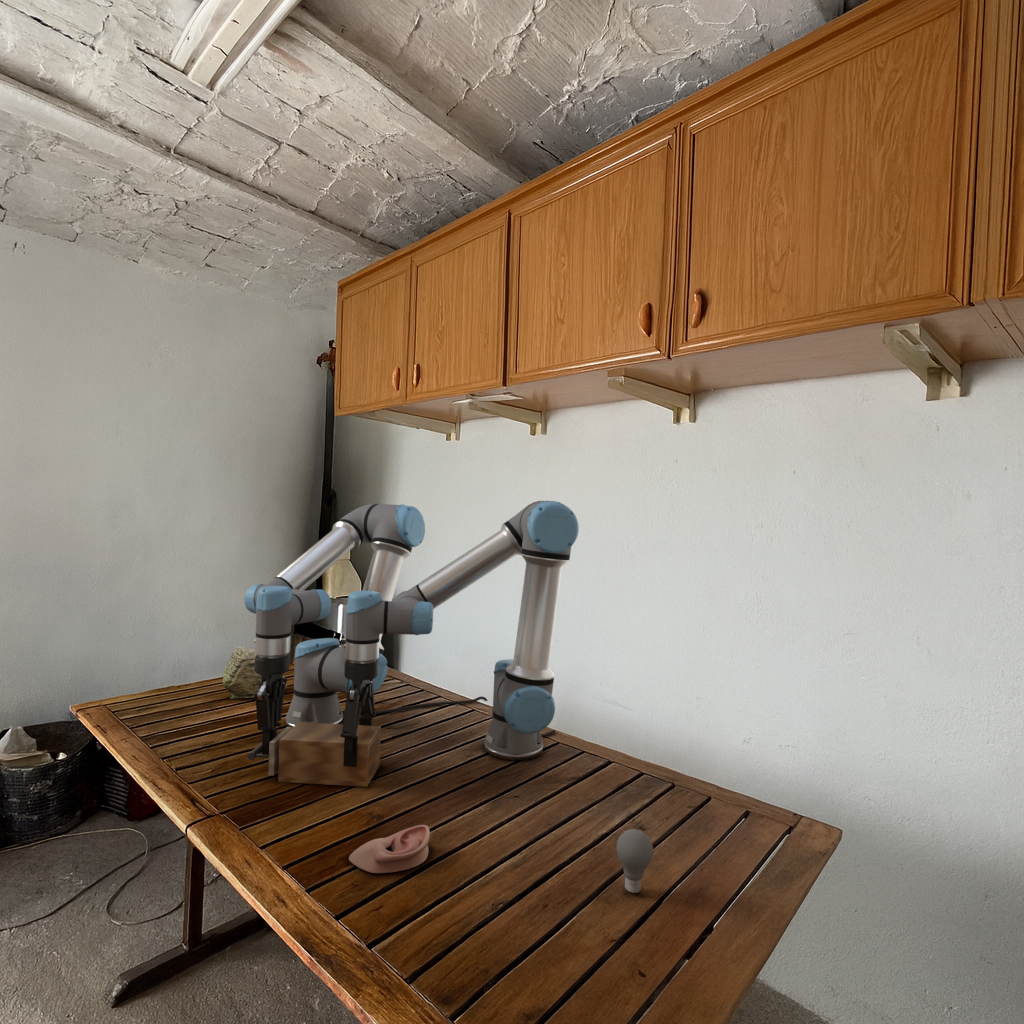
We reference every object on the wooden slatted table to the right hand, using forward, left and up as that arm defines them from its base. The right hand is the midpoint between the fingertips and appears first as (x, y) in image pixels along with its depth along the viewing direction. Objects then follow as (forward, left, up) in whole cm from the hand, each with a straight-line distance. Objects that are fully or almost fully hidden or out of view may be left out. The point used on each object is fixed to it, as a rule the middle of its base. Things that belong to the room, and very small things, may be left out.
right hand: (357, 755), depth 145 cm
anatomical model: (+1, +35, -5) cm, 35 cm away
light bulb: (-35, +59, -5) cm, 68 cm away
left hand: (+18, -9, -2) cm, 21 cm away
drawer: (+11, -5, -4) cm, 12 cm away
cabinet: (+5, -3, -5) cm, 8 cm away
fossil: (+19, -67, -5) cm, 70 cm away
